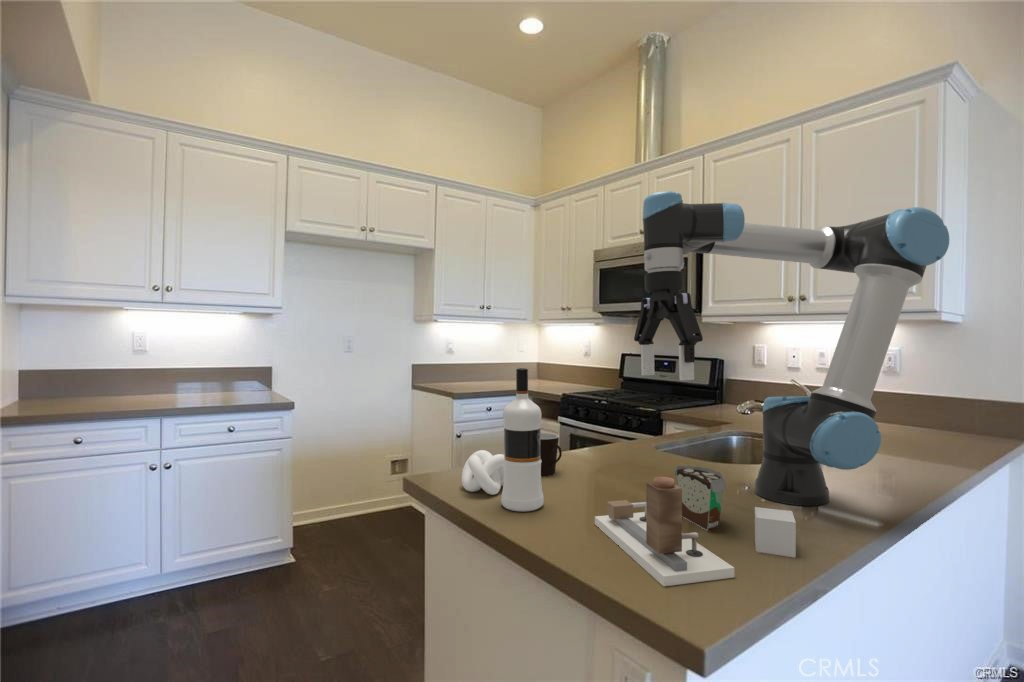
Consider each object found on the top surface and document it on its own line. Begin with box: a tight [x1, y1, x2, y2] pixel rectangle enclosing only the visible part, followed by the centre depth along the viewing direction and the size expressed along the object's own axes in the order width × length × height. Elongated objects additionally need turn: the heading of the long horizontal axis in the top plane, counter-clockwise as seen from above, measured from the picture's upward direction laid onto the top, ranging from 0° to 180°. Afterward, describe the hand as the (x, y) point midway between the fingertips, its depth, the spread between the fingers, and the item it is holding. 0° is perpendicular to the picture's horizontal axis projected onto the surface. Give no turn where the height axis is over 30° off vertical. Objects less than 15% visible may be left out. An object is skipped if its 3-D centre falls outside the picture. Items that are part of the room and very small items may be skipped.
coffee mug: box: [541, 432, 563, 477], centre depth 138 cm, size 12×9×10 cm
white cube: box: [754, 506, 797, 558], centre depth 90 cm, size 6×6×6 cm
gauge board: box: [594, 499, 735, 587], centre depth 90 cm, size 12×26×5 cm, turn 14°
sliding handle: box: [645, 476, 699, 554], centre depth 83 cm, size 8×4×12 cm, turn 104°
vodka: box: [500, 367, 545, 513], centre depth 112 cm, size 9×9×30 cm
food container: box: [673, 465, 727, 533], centre depth 103 cm, size 12×6×10 cm, turn 17°
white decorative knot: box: [461, 449, 504, 496], centre depth 124 cm, size 11×12×9 cm
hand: (666, 377), depth 104 cm, fingers open, 13 cm apart
